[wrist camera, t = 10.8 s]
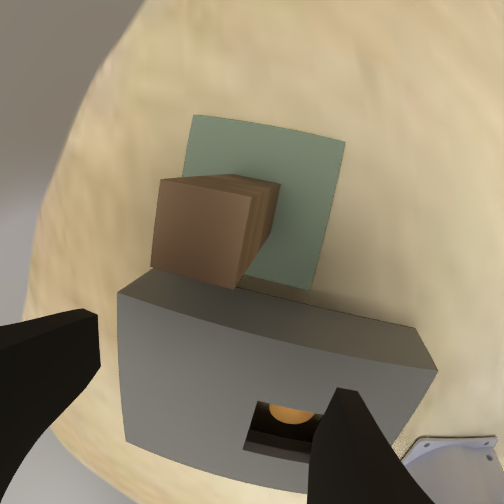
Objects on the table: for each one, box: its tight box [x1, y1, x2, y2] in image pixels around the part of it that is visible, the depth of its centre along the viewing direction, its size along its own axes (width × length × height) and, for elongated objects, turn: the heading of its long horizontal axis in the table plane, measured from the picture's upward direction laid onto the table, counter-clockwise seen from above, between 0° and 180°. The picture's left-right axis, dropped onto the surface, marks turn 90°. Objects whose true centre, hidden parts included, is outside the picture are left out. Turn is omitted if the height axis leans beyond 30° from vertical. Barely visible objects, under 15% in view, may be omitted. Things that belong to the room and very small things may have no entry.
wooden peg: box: [150, 174, 281, 290], centre depth 12 cm, size 3×3×8 cm
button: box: [269, 404, 315, 424], centre depth 18 cm, size 3×3×2 cm
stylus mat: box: [182, 115, 345, 291], centre depth 16 cm, size 8×8×1 cm
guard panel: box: [117, 268, 438, 494], centre depth 17 cm, size 16×12×4 cm
